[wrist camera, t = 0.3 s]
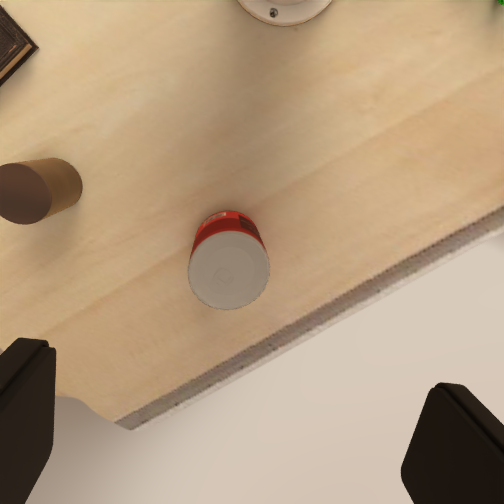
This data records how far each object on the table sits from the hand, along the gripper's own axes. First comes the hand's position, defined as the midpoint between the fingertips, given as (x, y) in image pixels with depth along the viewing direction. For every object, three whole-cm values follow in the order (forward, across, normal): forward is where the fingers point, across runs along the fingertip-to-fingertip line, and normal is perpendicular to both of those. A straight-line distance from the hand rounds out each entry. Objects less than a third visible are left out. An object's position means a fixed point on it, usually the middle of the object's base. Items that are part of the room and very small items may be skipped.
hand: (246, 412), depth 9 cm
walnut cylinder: (+36, +19, +2) cm, 40 cm away
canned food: (+36, -1, +5) cm, 36 cm away
